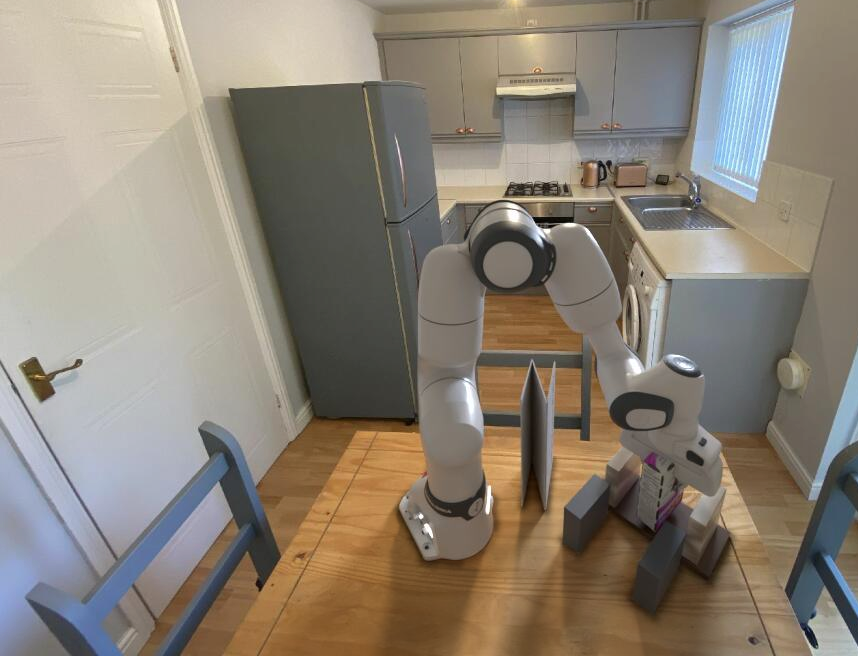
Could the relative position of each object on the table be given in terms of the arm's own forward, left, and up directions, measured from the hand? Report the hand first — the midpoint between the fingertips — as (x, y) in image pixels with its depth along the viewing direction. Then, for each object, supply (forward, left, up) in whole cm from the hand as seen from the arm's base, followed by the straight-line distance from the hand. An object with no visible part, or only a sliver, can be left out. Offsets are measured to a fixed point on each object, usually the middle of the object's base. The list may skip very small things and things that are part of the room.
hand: (663, 482), depth 88 cm
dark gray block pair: (-2, -13, -10) cm, 17 cm away
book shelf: (0, 0, -10) cm, 10 cm away
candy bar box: (0, 0, -8) cm, 8 cm away
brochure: (-25, -11, -11) cm, 29 cm away
